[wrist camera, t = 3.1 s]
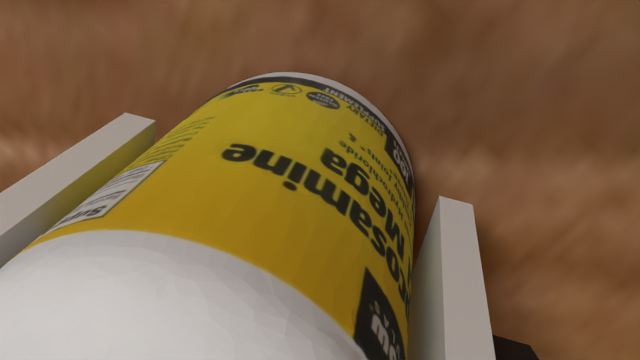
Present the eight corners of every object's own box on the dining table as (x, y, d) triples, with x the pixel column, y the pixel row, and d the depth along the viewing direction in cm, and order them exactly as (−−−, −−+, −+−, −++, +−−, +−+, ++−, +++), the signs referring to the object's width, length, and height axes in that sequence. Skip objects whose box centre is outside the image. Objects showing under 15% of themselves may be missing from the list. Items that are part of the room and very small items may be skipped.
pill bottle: (464, 207, 13) (558, 965, 4) (287, 304, 16) (69, 905, 6) (313, 9, 12) (-199, 416, 2) (145, 151, 14) (-437, 630, 5)
